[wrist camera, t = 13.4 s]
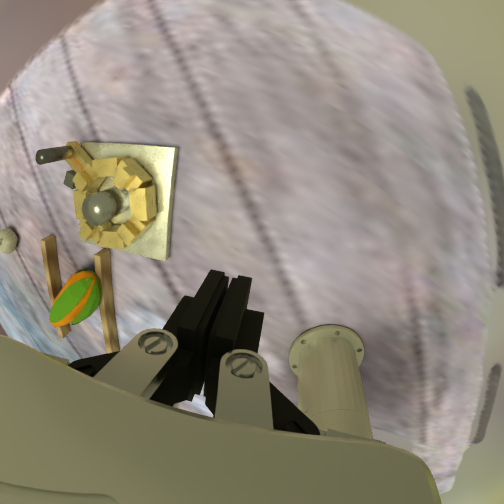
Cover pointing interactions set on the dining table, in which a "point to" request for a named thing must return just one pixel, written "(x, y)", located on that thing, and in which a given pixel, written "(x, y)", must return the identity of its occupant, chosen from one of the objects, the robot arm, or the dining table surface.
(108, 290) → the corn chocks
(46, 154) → the tan angular piece
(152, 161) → the housing plate
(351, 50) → the dining table surface
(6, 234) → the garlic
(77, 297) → the corn
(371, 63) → the dining table surface
